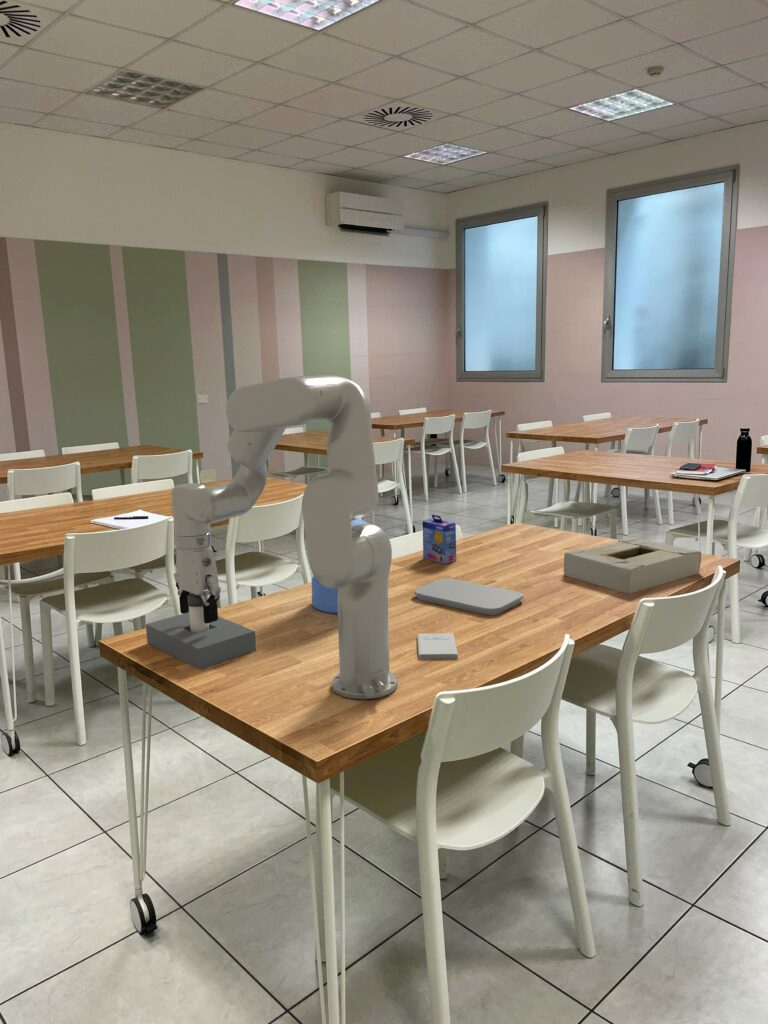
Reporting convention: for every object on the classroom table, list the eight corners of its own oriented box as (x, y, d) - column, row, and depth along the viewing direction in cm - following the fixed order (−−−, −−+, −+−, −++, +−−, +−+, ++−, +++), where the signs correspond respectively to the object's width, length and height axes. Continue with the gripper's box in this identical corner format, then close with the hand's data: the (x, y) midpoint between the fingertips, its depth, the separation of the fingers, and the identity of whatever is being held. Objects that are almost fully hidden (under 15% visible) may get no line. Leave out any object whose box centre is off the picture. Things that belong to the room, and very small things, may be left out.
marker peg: (211, 649, 166) (207, 596, 164) (191, 651, 165) (187, 598, 163) (210, 642, 170) (206, 591, 168) (191, 644, 169) (187, 593, 167)
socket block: (256, 650, 165) (254, 630, 164) (199, 669, 155) (198, 648, 154) (201, 627, 180) (200, 609, 179) (147, 643, 170) (145, 624, 170)
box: (630, 596, 198) (701, 574, 216) (631, 568, 197) (702, 548, 215) (562, 578, 217) (632, 559, 235) (562, 552, 215) (633, 534, 233)
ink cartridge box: (421, 558, 238) (421, 513, 235) (434, 555, 242) (433, 510, 239) (444, 564, 231) (444, 517, 228) (457, 560, 234) (456, 515, 232)
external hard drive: (418, 661, 159) (417, 639, 171) (458, 661, 158) (453, 639, 171) (418, 654, 158) (417, 632, 170) (458, 653, 158) (453, 632, 170)
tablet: (444, 584, 211) (444, 577, 211) (527, 602, 195) (527, 593, 195) (409, 599, 199) (409, 591, 198) (494, 619, 183) (494, 610, 182)
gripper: (230, 543, 159) (235, 621, 163) (187, 532, 171) (193, 604, 175) (199, 550, 154) (205, 630, 158) (157, 538, 166) (163, 612, 170)
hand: (199, 616), depth 166 cm, fingers open, 9 cm apart
